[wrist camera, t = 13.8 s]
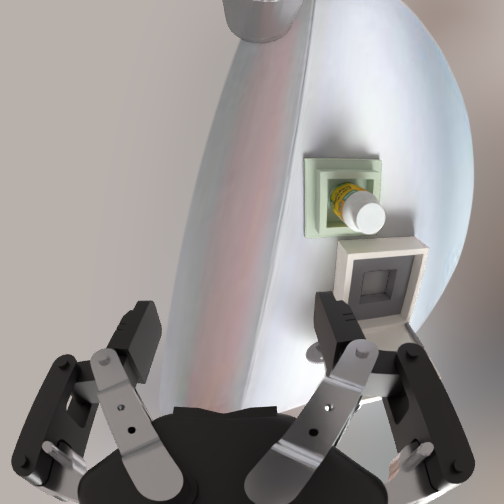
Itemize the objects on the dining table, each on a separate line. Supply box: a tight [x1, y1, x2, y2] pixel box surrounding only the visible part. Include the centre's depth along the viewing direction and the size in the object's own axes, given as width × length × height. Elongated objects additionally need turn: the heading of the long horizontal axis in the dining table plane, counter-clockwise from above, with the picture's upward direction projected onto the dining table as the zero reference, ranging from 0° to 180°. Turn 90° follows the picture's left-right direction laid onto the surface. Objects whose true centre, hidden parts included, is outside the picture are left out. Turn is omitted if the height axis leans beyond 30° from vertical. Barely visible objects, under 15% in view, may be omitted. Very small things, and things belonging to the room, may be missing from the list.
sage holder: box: [304, 158, 382, 238], centre depth 38 cm, size 12×12×3 cm
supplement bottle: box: [329, 182, 385, 234], centre depth 34 cm, size 5×5×10 cm
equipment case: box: [333, 236, 441, 405], centre depth 37 cm, size 17×15×19 cm
